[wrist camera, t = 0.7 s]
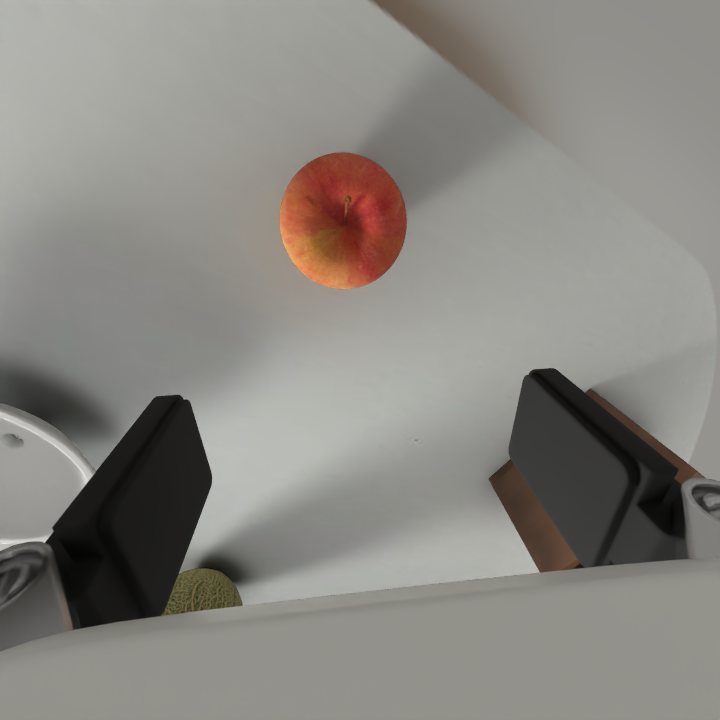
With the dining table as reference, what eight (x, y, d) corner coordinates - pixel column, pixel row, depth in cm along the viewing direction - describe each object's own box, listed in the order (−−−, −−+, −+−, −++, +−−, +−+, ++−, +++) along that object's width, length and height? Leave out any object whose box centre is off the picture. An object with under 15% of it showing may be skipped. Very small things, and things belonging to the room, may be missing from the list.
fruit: (274, 587, 43) (251, 771, 29) (195, 617, 44) (139, 806, 31) (218, 533, 38) (160, 726, 24) (131, 569, 39) (31, 770, 26)
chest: (590, 388, 33) (698, 472, 24) (649, 436, 37) (763, 526, 27) (488, 479, 37) (544, 581, 28) (549, 514, 41) (618, 615, 31)
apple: (295, 275, 26) (285, 311, 19) (278, 161, 23) (257, 152, 15) (394, 266, 26) (419, 298, 19) (391, 153, 23) (421, 141, 16)
